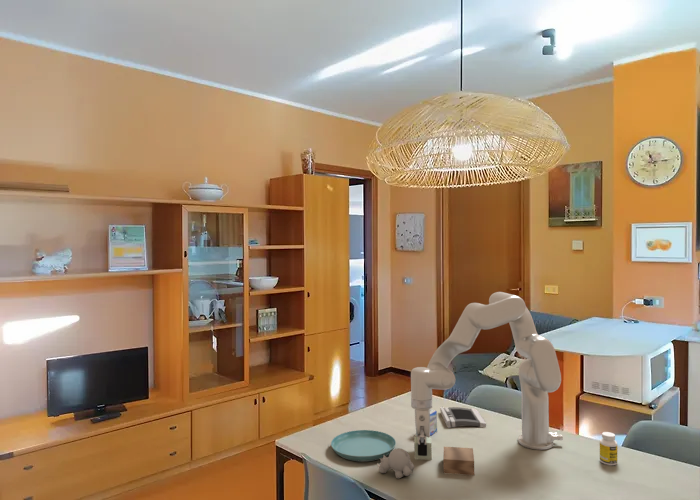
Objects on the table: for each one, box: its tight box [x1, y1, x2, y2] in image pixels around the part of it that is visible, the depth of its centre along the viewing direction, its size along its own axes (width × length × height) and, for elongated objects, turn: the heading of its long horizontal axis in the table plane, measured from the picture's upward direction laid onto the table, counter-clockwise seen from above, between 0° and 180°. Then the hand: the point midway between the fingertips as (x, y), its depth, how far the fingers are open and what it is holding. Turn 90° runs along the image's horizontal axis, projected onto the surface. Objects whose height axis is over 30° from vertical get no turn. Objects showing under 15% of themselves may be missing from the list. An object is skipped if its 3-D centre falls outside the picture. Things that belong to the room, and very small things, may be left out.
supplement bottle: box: [599, 431, 618, 466], centre depth 170 cm, size 5×5×10 cm
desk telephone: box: [439, 406, 487, 429], centre depth 212 cm, size 17×5×16 cm
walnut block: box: [442, 446, 475, 476], centre depth 169 cm, size 10×10×5 cm
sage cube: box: [413, 435, 433, 461], centre depth 179 cm, size 6×6×6 cm
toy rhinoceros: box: [376, 447, 415, 479], centre depth 166 cm, size 7×12×8 cm, turn 65°
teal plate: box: [330, 429, 397, 463], centre depth 185 cm, size 24×24×3 cm
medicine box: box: [430, 408, 438, 437], centre depth 198 cm, size 8×4×9 cm, turn 143°
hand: (422, 449), depth 179 cm, fingers open, 9 cm apart
